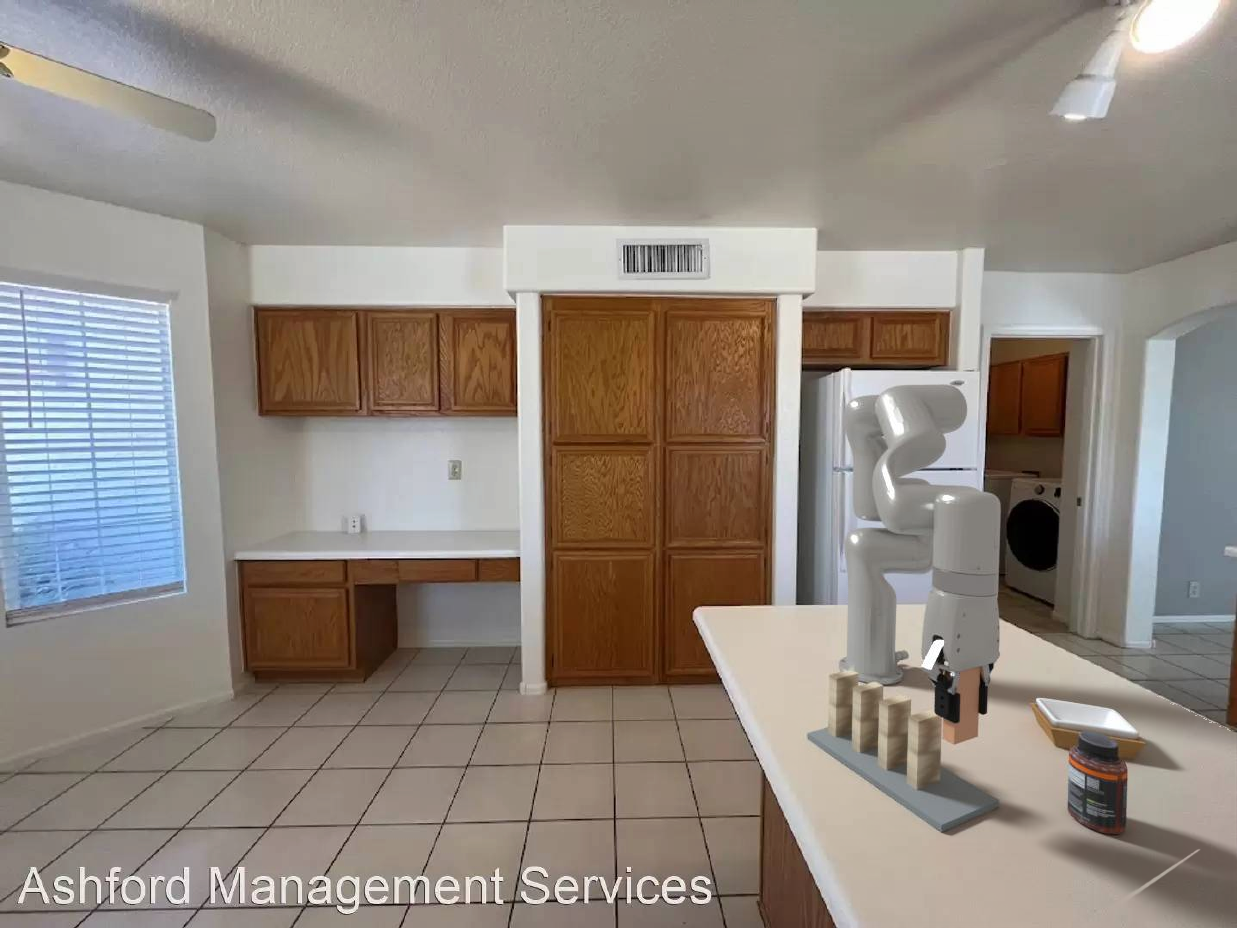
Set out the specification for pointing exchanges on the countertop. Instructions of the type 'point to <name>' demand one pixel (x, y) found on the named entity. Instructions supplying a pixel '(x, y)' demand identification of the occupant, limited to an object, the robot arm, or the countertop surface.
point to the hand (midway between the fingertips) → (960, 712)
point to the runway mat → (931, 803)
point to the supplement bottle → (1097, 784)
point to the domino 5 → (965, 708)
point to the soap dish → (1085, 725)
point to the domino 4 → (924, 749)
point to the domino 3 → (893, 731)
